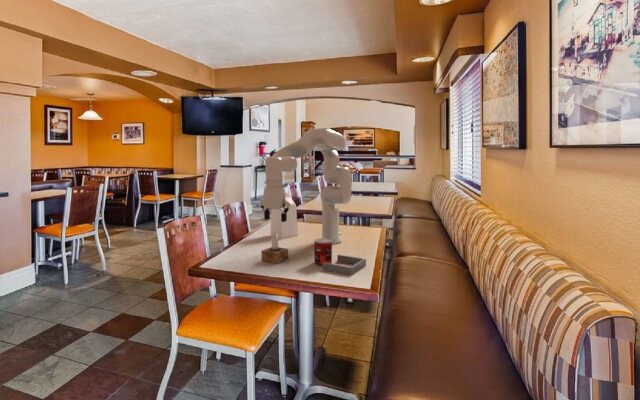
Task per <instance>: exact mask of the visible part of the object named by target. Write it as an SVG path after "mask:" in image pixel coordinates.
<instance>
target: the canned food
mask: <svg viewBox="0 0 640 400" xmlns="http://www.w3.org/2000/svg"><path fill="white" fill-rule="evenodd" d="M313 244H314V245H313V246H314V254H313V256H314V257H313V258H314V259H313V260H314V265H316V266H320V267H322V263H323V262H325V263H331V264H333V263H332V261H333V258H332V256H333V244H332V240H331V239H327V238H322V237H319V238H315V239H314V241H313Z"/></svg>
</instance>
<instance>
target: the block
mask: <svg viewBox="0 0 640 400" xmlns="http://www.w3.org/2000/svg"><path fill="white" fill-rule="evenodd" d="M260 252H261V254H260V255H261V262H265V263H271V264H274V265H278V264H281V263H283V262H285V261H287V260H289V259H290V257H289V248H287V247H286V248H284V247H280V246H278V251H276V252H275V251H272V246H270V247H267V248H264V249H263V250H261V251H260Z"/></svg>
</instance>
